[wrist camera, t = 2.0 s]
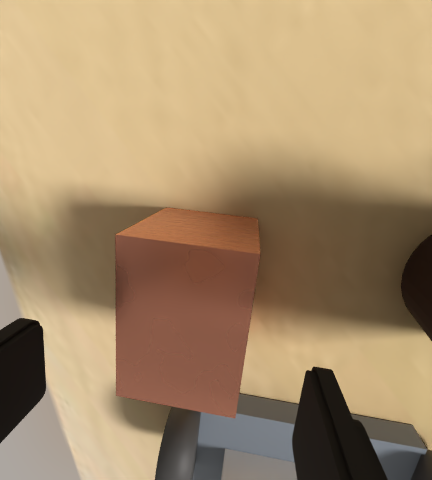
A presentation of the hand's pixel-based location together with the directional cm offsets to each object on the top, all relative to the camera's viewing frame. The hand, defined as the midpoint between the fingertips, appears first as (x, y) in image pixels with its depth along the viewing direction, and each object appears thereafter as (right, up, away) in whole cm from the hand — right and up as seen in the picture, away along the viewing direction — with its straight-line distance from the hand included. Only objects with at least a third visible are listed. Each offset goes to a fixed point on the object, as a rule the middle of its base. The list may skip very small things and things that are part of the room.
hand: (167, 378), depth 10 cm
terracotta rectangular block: (+1, +3, +7) cm, 7 cm away
